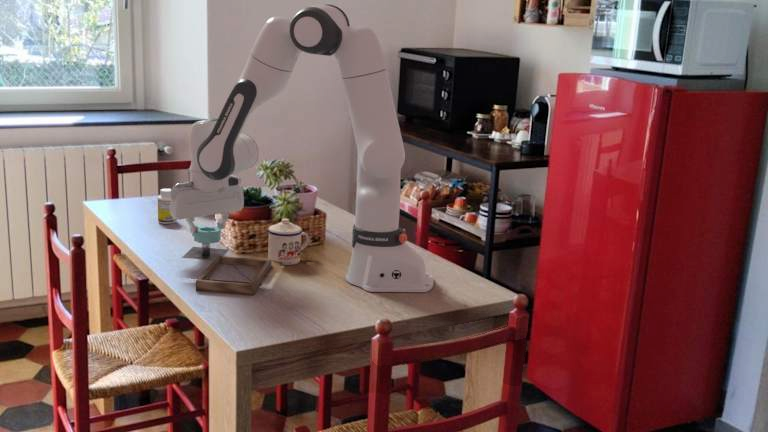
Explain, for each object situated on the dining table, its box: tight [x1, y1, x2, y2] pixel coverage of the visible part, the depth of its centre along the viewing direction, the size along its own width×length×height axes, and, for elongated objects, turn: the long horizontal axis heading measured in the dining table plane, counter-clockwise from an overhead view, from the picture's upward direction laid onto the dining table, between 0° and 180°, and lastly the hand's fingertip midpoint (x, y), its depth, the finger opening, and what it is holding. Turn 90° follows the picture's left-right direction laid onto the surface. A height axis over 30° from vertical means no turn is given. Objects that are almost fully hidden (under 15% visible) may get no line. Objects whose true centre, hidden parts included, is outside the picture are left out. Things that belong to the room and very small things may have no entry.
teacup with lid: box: [267, 218, 310, 266], centre depth 219 cm, size 12×9×12 cm
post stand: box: [181, 243, 229, 261], centre depth 218 cm, size 10×10×6 cm
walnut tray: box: [195, 255, 272, 296], centre depth 202 cm, size 14×20×2 cm
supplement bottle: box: [157, 188, 178, 225], centre depth 248 cm, size 6×6×10 cm
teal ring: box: [191, 224, 222, 244], centre depth 218 cm, size 10×6×3 cm
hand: (207, 230), depth 217 cm, fingers closed on teal ring, 7 cm apart
